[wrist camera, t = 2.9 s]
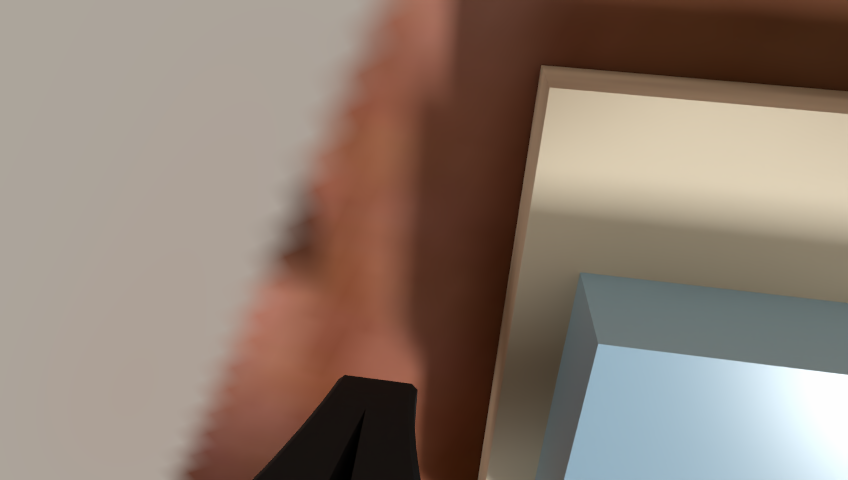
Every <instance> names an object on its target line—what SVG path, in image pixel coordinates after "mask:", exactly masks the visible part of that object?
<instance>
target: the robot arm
mask: <svg viewBox="0 0 848 480" xmlns="http://www.w3.org/2000/svg"><path fill="white" fill-rule="evenodd" d="M416 403H417V389H416V388H415V387H414V386H413V385H412V384H409V383H401V382H393V381H386V380H378V379H371V378H363V377H355V376H348V375H344V376H343V377H341V378H340V379H339V380H338V381H337V382H336V384H335V385H334V387H333V388H332V389H331V391H330V392H329V393H328V394H327V396H326V397H325V398H324V400H323V401H322V402H321V403H320V405H319V406H318V407H317V408H316V410H315V411H314V412H313V413H312V415H311V416H310V417H309V418H308V419H307V420H306V422H305V423H304V424H303V425H302V426H301V428H300V429H299V430H298V431H297V432H296V433H295V434H294V436H293V437H292V438H291V439H290V440H289V441H288V442H287V443H286V445H285V446H284V447H283V448H282V449H281V450H280V451H279V452H278V453H277V455H276V456H275V457H274V458H273V459H272V460H271V461H270V462H269V463H268V464H267V465H266V466H265V468H264V469H263V470H262V471H261V472H260V473H259V474H258V475H257V476H256V477H255V478H254V479H253V480H421V479H420V473H419V466H418V460H417V451H416V439H415V417H416Z"/></svg>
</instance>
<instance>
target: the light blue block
mask: <svg viewBox="0 0 848 480" xmlns="http://www.w3.org/2000/svg"><path fill="white" fill-rule="evenodd" d="M535 480H848V303H843V302H835V301H826V300H817V299H808V298H800V297H791V296H782V295H774V294H765V293H756V292H747V291H739V290H730V289H721V288H713V287H704V286H695V285H687V284H678V283H669V282H660V281H652V280H643V279H634V278H626V277H617V276H608V275H599V274H591V273H582V272H580V276H579V280H578V285H577V289H576V294H575V298H574V303H573V308H572V312H571V317H570V321H569V326H568V330H567V335H566V340H565V344H564V349H563V353H562V358H561V362H560V367H559V372H558V376H557V381H556V385H555V390H554V394H553V399H552V404H551V408H550V413H549V417H548V422H547V426H546V431H545V436H544V440H543V445H542V449H541V454H540V459H539V463H538V468H537V472H536V477H535Z"/></svg>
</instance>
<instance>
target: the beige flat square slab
mask: <svg viewBox="0 0 848 480" xmlns="http://www.w3.org/2000/svg"><path fill="white" fill-rule="evenodd" d="M580 272H582V273H591V274H599V275H608V276H617V277H626V278H634V279H643V280H652V281H660V282H669V283H678V284H687V285H695V286H704V287H713V288H721V289H730V290H739V291H747V292H756V293H765V294H774V295H782V296H791V297H800V298H808V299H817V300H826V301H835V302H843V303H848V91H837V90H826V89H814V88H802V87H791V86H779V85H767V84H756V83H744V82H732V81H721V80H709V79H698V78H686V77H674V76H663V75H651V74H639V73H628V72H616V71H604V70H593V69H581V68H569V67H558V66H546V65H541V70H540V76H539V83H538V89H537V96H536V102H535V109H534V115H533V122H532V129H531V135H530V142H529V148H528V155H527V161H526V168H525V174H524V181H523V187H522V194H521V200H520V207H519V214H518V220H517V227H516V233H515V240H514V246H513V253H512V259H511V266H510V272H509V279H508V285H507V292H506V299H505V305H504V312H503V318H502V325H501V331H500V338H499V344H498V351H497V357H496V364H495V370H494V377H493V384H492V390H491V397H490V403H489V410H488V416H487V423H486V429H485V436H484V442H483V449H482V455H481V462H480V469H479V475H478V480H535V477H536V472H537V468H538V463H539V459H540V454H541V449H542V445H543V440H544V436H545V431H546V426H547V422H548V417H549V413H550V408H551V404H552V399H553V394H554V390H555V385H556V381H557V376H558V372H559V367H560V362H561V358H562V353H563V349H564V344H565V340H566V335H567V330H568V326H569V321H570V317H571V312H572V308H573V303H574V298H575V294H576V289H577V285H578V280H579V276H580Z"/></svg>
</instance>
